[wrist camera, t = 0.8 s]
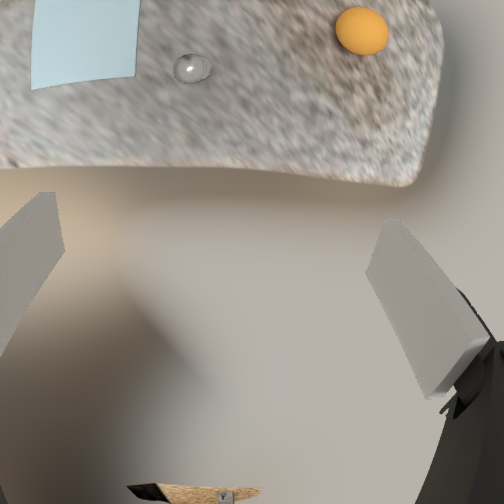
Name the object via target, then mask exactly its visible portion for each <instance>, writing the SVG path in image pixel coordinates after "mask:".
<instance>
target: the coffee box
mask: <svg viewBox="0 0 504 504" xmlns="http://www.w3.org/2000/svg"><path fill="white" fill-rule="evenodd" d="M218 504H234V494H233V492H232V491H218Z"/></svg>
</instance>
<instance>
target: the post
mask: <svg viewBox="0 0 504 504" xmlns="http://www.w3.org/2000/svg"><path fill="white" fill-rule="evenodd" d="M211 70H212V66H211V63H210V62H209V60H207V59H206V58H203V57H200V56H197V55H192V54H188V55H184V56H182V57H180V58H179V59H178V60H177V61H176V63H175V65H174V75H175V77H176V78H177V80H179V81H180V82H182V83H185V84H192V83H195V82H198V81H200V80H203V79H205V78H207V77H208V76H209V75H210V73H211Z"/></svg>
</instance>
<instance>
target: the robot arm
mask: <svg viewBox="0 0 504 504" xmlns="http://www.w3.org/2000/svg"><path fill="white" fill-rule="evenodd" d="M64 252H65V248H64V243H63V238H62V233H61V227H60V221H59V216H58V209H57V202H56V195H55V192H40V193H38V194H37V195H36V196H35V197H34V198H33V199H32V200H30V201H29V202H28V203H27V204H26V205H25V206H24V207H23V208H21V209H20V210H19V211H18V212H17V213H16V214H15V215H14V216H13V217H12V218H11V219H10V220H8V221H7V223H5V224H4V225H3V226H2V227H1V228H0V357H1V355H2V353H3V351H4V349H5V347H6V345H7V344H8V342H9V340H10V338H11V336H12V334H13V333H14V331H15V329H16V327H17V326H18V324H19V322H20V320H21V319H22V317H23V315H24V314H25V312H26V310H27V308H28V307H29V305H30V304H31V302H32V300H33V299H34V297H35V295H36V294H37V292H38V291H39V289H40V288H41V286H42V285H43V283H44V282H45V280H46V279H47V277H48V275H49V274H50V273H51V271H52V270H53V268H54V267H55V265H56V264H57V262H58V261H59V259H60V258H61V257H62V255H63V254H64ZM366 275H367V277H368V279H369V281H370V283H371V284H372V287H373V289H374V291H375V293H376V294H377V296H378V298H379V300H380V302H381V304H382V306H383V308H384V310H385V312H386V314H387V316H388V318H389V320H390V322H391V324H392V326H393V328H394V331H395V332H396V334H397V337H398V339H399V341H400V343H401V345H402V347H403V350H404V352H405V354H406V356H407V358H408V360H409V363H410V365H411V367H412V369H413V372H414V374H415V376H416V378H417V381H418V383H419V385H420V388H421V390H422V392H423V395H424V397H425V400H430V399H435V398H439V397H443V396H444V395H445V394H446V393H447V392H448V391H449V389H450V388H451V387H452V386H453V385H454V387H455V389H456V391H457V392H456V394H455V395H454V396H453V397H452V398H451V399H450V400H449V401H448V402H447V404H446V405H445V406H444V407H443V408H442V409H441V411H440V412H439V413H440V414H442V413H443V412H444V411H445V410H446V409H448V408H449V411H448V413H447V414H446V417H447V418H446V421H445V425H444V428H443V431H442V434H441V437H440V440H439V444H438V447H437V450H436V452H435V455H434V458H433V461H432V464H431V466H430V469H429V472H428V474H427V476H426V479H425V481H424V484H423V486H422V489H421V491H420V493H419V496H418V498H417V500H416V502H415V504H504V341H499V342H497V341H496V340H495V338H494V337H493V335H492V334H491V332H490V330H489V329H488V328H487V326H486V325H485V323H484V322H483V320H482V319H481V317H480V316H479V315H478V314H477V312H476V310H475V309H474V307H473V306H471V303H470V302H469V300H468V299H467V298H466V296H465V295H464V294H463V293H462V292H461V291H460V290H458V289H457V288H456V287H455V286H454V285H453V283H452V282H451V281H450V280H449V278H448V277H447V276H446V274H445V273H444V272H443V271H442V269H441V268H440V267H439V266H438V264H437V263H436V262H435V261H434V259H433V258H432V257H431V255H430V254H429V253H428V252H427V251H426V250H425V248H424V247H423V246H422V245H421V244H420V242H419V241H418V240H417V239H416V238H415V236H414V235H413V234H412V233H411V232H410V231H409V229H408V228H406V226H405V225H404V224H403V223H402V222H401V220H395V219H388V218H385V220H384V223H383V226H382V229H381V232H380V235H379V238H378V241H377V243H376V246H375V249H374V252H373V255H372V258H371V260H370V263H369V266H368V269H367V271H366ZM0 504H8V503H7V501H6V498H5V496H4V494H3V491H2V489H1V486H0Z"/></svg>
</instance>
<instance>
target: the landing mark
mask: <svg viewBox="0 0 504 504" xmlns="http://www.w3.org/2000/svg"><path fill="white" fill-rule="evenodd" d="M139 10H140V0H35V8H34V19H33V31H32V51H31V90H35V89H40V88H45V87H50V86H56V85H62V84H68V83H75V82H82V81H90V80H98V79H107V78H118V77H131V76H135V74H136V51H137V35H138V22H139Z"/></svg>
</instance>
